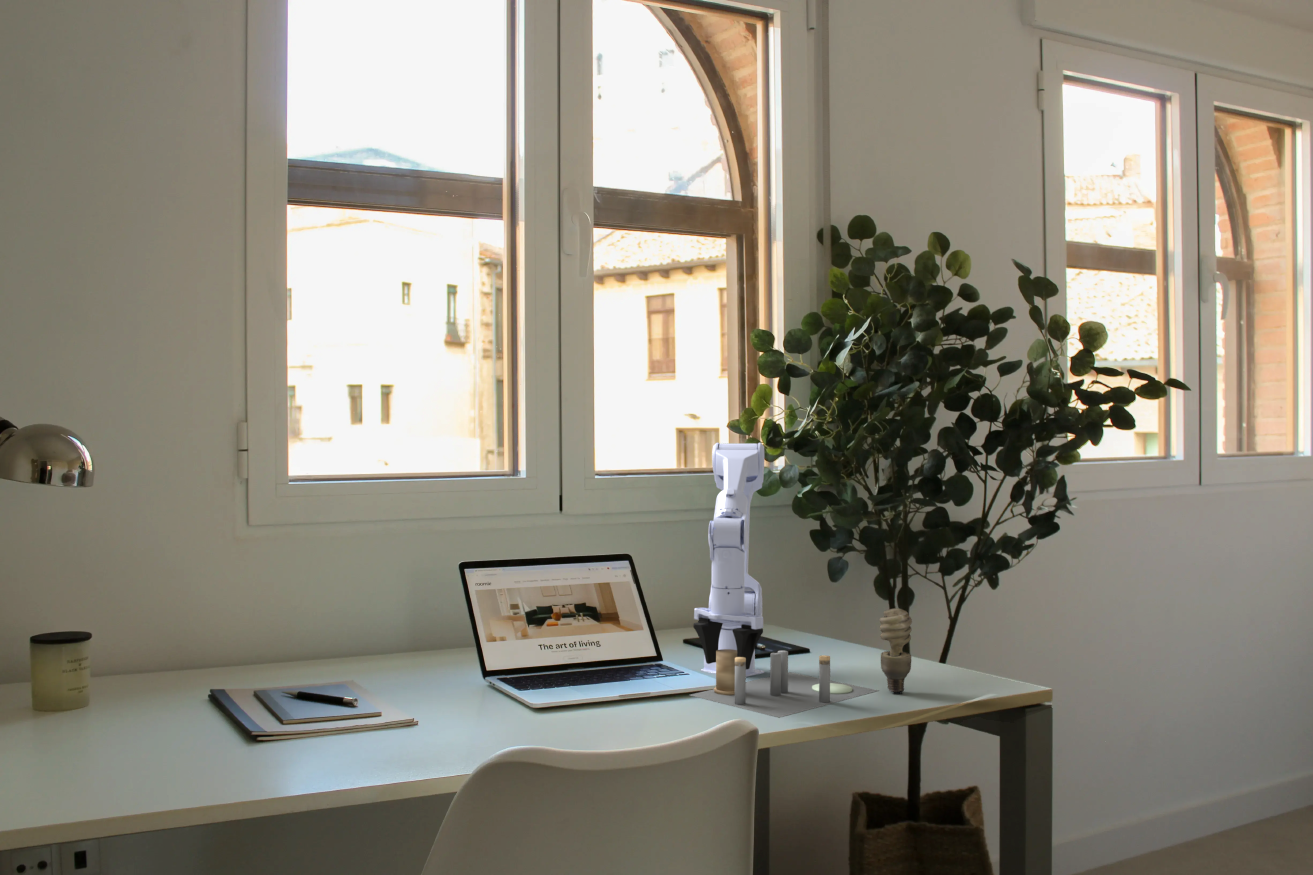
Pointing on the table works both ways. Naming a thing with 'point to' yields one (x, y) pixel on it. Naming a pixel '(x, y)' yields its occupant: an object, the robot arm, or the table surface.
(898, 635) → the light bulb
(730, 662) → the cylinder
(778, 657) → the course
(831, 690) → the pad
